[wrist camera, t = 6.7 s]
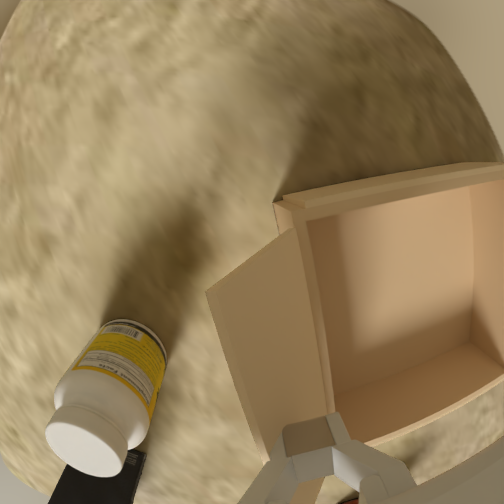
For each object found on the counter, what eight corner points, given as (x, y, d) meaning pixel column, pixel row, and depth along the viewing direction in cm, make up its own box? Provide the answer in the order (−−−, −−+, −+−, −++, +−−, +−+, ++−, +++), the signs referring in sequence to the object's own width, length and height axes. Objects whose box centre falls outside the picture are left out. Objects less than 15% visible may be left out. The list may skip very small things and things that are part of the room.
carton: (468, 161, 18) (525, 161, 12) (471, 342, 22) (511, 374, 16) (271, 197, 18) (289, 204, 12) (312, 404, 21) (332, 460, 16)
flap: (216, 291, 7) (205, 291, 7) (299, 537, 10) (293, 536, 10) (295, 227, 12) (288, 228, 12) (332, 456, 15) (327, 455, 15)
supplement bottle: (131, 392, 20) (91, 491, 11) (83, 338, 19) (14, 423, 10) (184, 363, 20) (160, 474, 10) (133, 302, 19) (67, 393, 9)
